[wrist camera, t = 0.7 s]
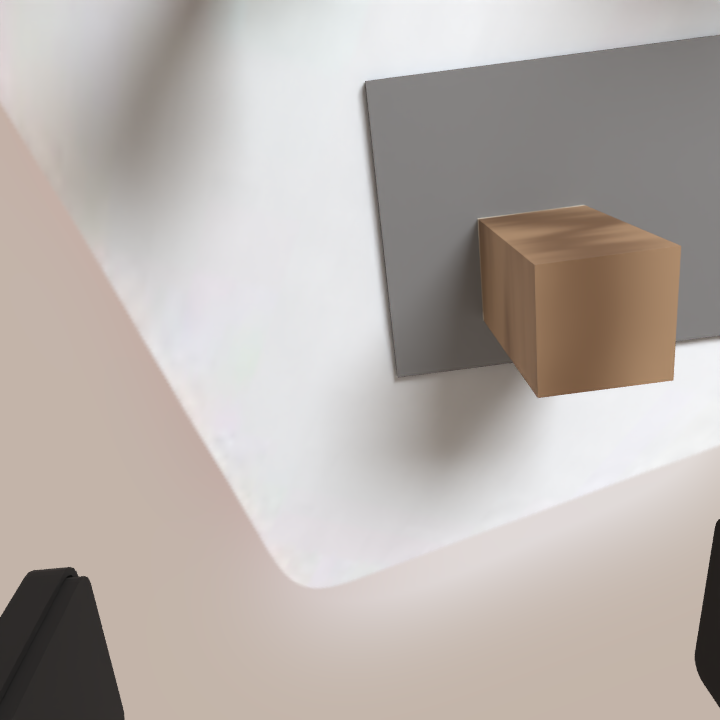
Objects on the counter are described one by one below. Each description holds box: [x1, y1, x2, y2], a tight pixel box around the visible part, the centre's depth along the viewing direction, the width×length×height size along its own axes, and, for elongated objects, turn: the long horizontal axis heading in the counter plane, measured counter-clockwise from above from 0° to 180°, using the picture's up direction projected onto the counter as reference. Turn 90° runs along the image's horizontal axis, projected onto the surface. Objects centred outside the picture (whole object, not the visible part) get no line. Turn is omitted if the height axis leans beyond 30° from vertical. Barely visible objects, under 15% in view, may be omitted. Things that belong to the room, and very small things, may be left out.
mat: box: [365, 35, 720, 377], centre depth 31 cm, size 20×14×1 cm
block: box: [478, 205, 681, 398], centre depth 28 cm, size 5×5×9 cm
